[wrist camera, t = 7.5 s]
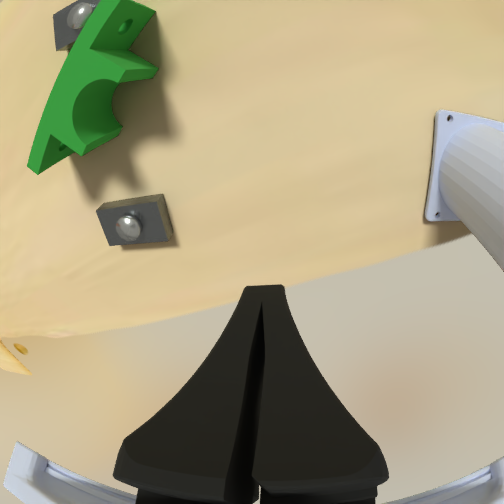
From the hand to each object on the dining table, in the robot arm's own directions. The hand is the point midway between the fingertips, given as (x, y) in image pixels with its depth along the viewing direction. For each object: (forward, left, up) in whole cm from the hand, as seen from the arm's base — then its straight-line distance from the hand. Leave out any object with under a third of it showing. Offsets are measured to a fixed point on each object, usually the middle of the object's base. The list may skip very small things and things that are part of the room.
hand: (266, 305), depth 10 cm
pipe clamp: (+9, -9, -10) cm, 16 cm away
